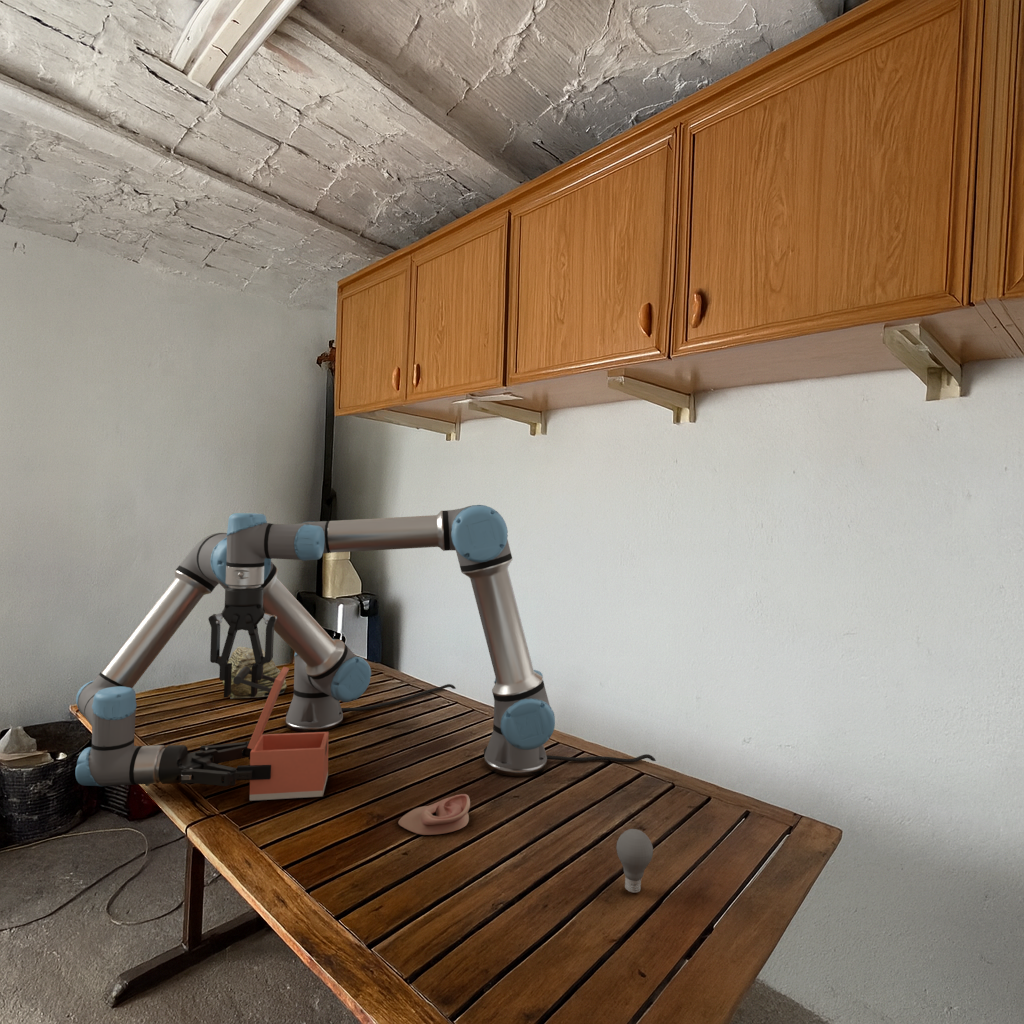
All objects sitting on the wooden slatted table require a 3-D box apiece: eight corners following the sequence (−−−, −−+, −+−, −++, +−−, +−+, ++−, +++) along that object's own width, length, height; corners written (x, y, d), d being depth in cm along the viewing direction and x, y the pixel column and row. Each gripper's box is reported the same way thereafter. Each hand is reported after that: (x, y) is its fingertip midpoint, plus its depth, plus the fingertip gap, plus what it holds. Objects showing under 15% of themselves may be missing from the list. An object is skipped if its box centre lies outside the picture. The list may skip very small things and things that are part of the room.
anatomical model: (392, 810, 121) (414, 784, 132) (391, 830, 121) (413, 803, 132) (459, 820, 118) (475, 792, 130) (458, 841, 118) (474, 812, 130)
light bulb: (610, 879, 108) (613, 822, 108) (644, 879, 109) (647, 822, 109) (619, 902, 102) (622, 840, 102) (655, 901, 103) (658, 840, 103)
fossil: (218, 695, 195) (220, 647, 195) (278, 685, 208) (279, 640, 207) (228, 703, 189) (230, 653, 188) (289, 692, 201) (290, 645, 201)
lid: (289, 668, 141) (249, 654, 139) (281, 681, 131) (237, 666, 130) (263, 732, 140) (222, 719, 139) (253, 749, 131) (209, 736, 129)
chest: (327, 775, 143) (328, 731, 143) (322, 796, 133) (323, 748, 133) (259, 779, 140) (260, 734, 140) (249, 800, 131) (250, 752, 131)
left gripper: (180, 760, 143) (283, 757, 147) (141, 808, 121) (263, 803, 125) (181, 727, 143) (285, 725, 147) (142, 769, 121) (265, 766, 125)
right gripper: (194, 587, 129) (190, 701, 129) (285, 589, 132) (281, 700, 133) (205, 582, 136) (201, 690, 137) (291, 584, 139) (287, 689, 140)
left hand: (275, 761), depth 136 cm, fingers closed on chest, 10 cm apart
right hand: (240, 694), depth 135 cm, fingers open, 5 cm apart
